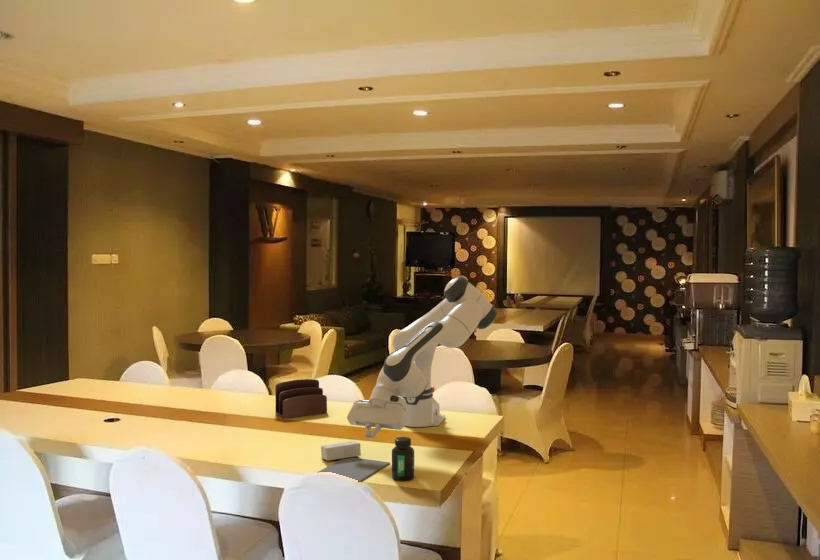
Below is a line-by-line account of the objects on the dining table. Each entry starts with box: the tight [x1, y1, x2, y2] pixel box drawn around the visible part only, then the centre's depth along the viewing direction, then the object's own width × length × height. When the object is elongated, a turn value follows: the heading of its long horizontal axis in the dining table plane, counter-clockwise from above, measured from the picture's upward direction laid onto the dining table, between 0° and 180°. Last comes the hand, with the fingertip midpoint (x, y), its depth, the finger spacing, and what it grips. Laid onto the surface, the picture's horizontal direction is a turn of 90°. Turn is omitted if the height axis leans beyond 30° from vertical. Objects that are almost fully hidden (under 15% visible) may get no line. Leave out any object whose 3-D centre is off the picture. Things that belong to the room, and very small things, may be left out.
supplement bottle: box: [391, 436, 415, 482], centre depth 212 cm, size 7×7×12 cm
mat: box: [318, 457, 390, 482], centre depth 220 cm, size 20×16×1 cm
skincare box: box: [320, 440, 362, 461], centre depth 233 cm, size 6×4×12 cm
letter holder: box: [274, 378, 328, 420], centre depth 298 cm, size 10×20×14 cm, turn 119°
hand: (369, 437), depth 229 cm, fingers closed
